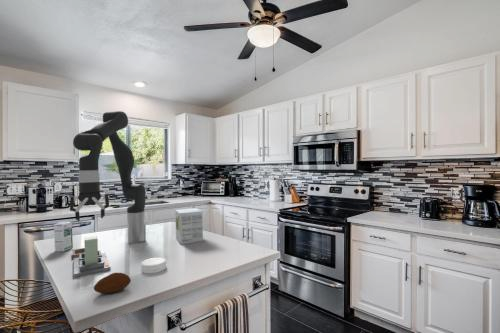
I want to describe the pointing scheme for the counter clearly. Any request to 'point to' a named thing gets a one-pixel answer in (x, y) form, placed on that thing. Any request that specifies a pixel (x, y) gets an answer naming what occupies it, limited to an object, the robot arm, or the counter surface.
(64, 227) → the syrup box
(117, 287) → the potato
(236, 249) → the counter surface
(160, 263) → the coaster
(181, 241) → the supplement box
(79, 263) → the rack
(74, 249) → the bracket
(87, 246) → the peg
